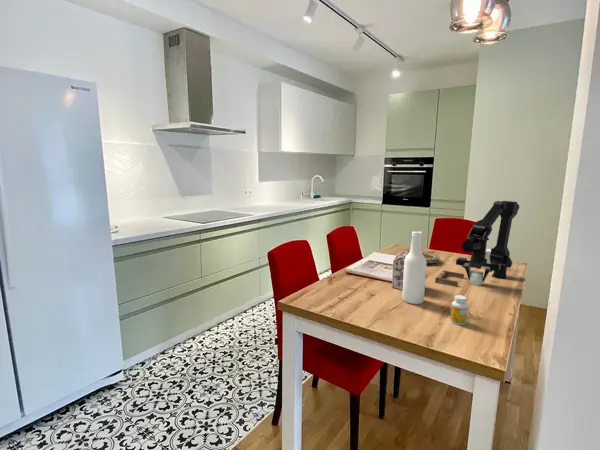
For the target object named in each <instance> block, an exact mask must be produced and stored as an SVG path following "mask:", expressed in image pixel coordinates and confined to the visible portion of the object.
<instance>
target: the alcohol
mask: <svg viewBox="0 0 600 450" xmlns="http://www.w3.org/2000/svg"><path fill="white" fill-rule="evenodd" d="M422 237H423V232H422V231H420V230H414V231H412V232H411V242H410V247H409V248H410V249H409V250H410V252H409V254H408V255H407V256H406V257H405V260H404V275H403V290H402V292H401V293H402V295H401V298H402V300H403V302H404V303H406V302H407V304H409V303H410V304H409V305H421V304H422V303H424V301H425V288H426V279H425V277H427V276H426V275H427V265H426V258H425V257H424V255H423V254H422V252H423V242H422V241H423V240H422V239H423V238H422Z"/></svg>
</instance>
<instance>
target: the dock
mask: <svg viewBox="0 0 600 450" xmlns="http://www.w3.org/2000/svg"><path fill="white" fill-rule="evenodd" d="M445 277H451V278H455V279H456V278H457V279H463V280H464V278H465V273H461V272H455V271H449V270H442V271H441V272H440V273H439V274H438V275H437V276H436V277H435V279H434V280H435V281H434V283H435V284H442V285H446V286H451V287H456V288H457V287H458V285H459V281H457V280H453V279H446V278H445Z"/></svg>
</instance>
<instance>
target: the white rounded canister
mask: <svg viewBox="0 0 600 450" xmlns="http://www.w3.org/2000/svg"><path fill="white" fill-rule="evenodd" d="M484 273H485V272H484V271H480V270H476V269H474V270H470V280H469V284H470V285H471V286H475V287H481V286H483V283H484V282H483V277H484Z"/></svg>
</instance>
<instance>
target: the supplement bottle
mask: <svg viewBox="0 0 600 450" xmlns="http://www.w3.org/2000/svg"><path fill="white" fill-rule="evenodd" d="M468 311H469V305H468V303H467V297H466V296H464V295H460V294H456V295H454V300H453V301H452V302H451V311H450V322H451V323H452V324H454V325H457V326H466V324H467V322H468Z"/></svg>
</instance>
